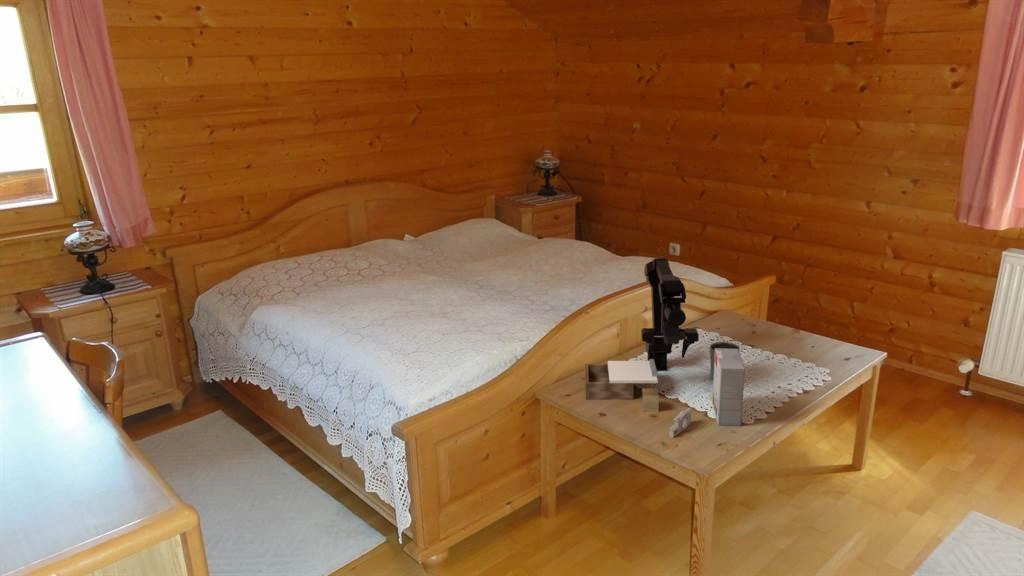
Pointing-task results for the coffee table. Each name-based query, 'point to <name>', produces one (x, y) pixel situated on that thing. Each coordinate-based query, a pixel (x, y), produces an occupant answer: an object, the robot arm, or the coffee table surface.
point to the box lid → (632, 371)
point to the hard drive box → (728, 386)
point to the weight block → (650, 400)
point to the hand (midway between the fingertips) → (668, 357)
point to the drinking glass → (712, 353)
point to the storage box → (605, 384)
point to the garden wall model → (681, 422)
